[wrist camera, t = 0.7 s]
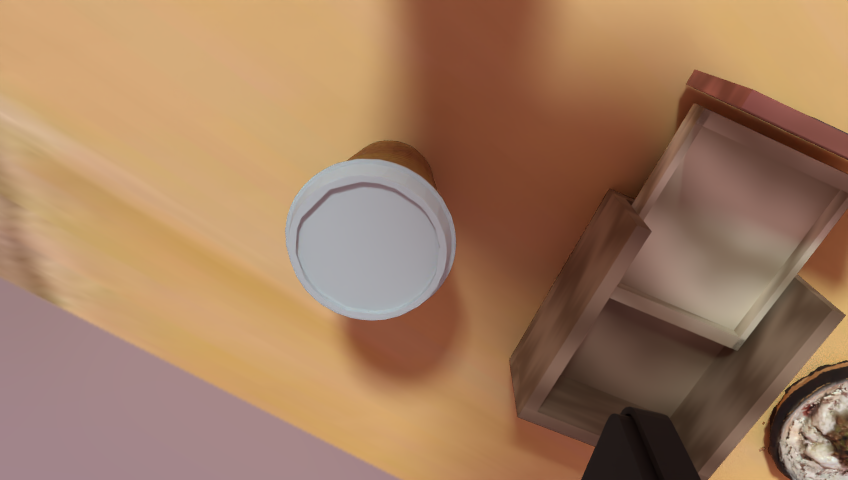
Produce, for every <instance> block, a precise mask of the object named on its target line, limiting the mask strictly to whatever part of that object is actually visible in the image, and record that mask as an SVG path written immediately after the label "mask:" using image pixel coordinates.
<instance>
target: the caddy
mask: <svg viewBox="0 0 848 480" xmlns="http://www.w3.org/2000/svg"><path fill="white" fill-rule="evenodd" d="M634 201H635V200H634V199H632V198H630V197H627V196H625V195H623V194H621V193H618V192H616V191H614V190H611V189H609V190H608V192H607V194H606V196H605V197H604V199H603V201H602V202H601V204H600V206H599V207H598V209H597V211H596V213H595V214H594V216H593V218H592V219H591V221H590V223H589V225H588V226H587V228H586V230H585V231H584V233H583V235H582V236H581V238H580V240H579V242H578V243H577V245H576V247H575V248H574V250H573V252H572V254H571V255H570V257H569V259H568V260H567V262H566V264H565V265H564V267H563V269H562V271H561V272H560V274H559V276H558V277H557V279H556V281H555V283H554V284H553V286H552V288H551V289H550V291H549V293H548V294H547V296H546V298H545V300H544V301H543V303H542V305H541V306H540V308H539V310H538V312H537V313H536V315H535V317H534V318H533V320H532V322H531V323H530V325H529V327H528V329H527V330H526V332H525V334H524V335H523V337H522V339H521V341H520V342H519V344H518V346H517V347H516V349H515V351H514V352H513V354H512V356H511V358H510V359H509V361H510V368H511V375H512V382H513V389H514V396H515V403H516V410H517V416H518V417H519V418H521V419H524V420H526V421H529V422H532V423H534V424H537V425H540V426H542V427H545V428H547V429H550V430H553V431H555V432H558V433H561V434H563V435H566V436H568V437H571V438H574V439H576V440H579V441H582V442H584V443H587V444H589V445H592V446H595V447H596V445H597V442H598V440H599V438H600V435H601V433H602V431H603V428H604V426H605V424H606V422H607V420H608V418H609V416H610V415H611V414H614V413H616V414H620V413H621V412H622V410H623V409H624V408H625V407H629V406H630V407H635V408H639V409H644V410H649V411H653V412H658V413H662V414H665V415H667V416H668V417H669V418H670V420H671V421H672V423H673V425H674V427H675V429H676V431H677V433H678V435H679V437H680V439H681V441H682V443H683V445H684V447H685V449H686V451H687V453H688V455H689V457H690V459H691V461H692V463H693V465H694V467H695V469H696V471H697V473H698V475H699V477H700V479H701V480H708V479H709V478H710V477H711V475H712V474H713V473H714V472H715V471H716V469H717V468H718V467H719V466H720V465H721V463H722V462H723V461H724V460H725V459H726V458H727V456H728V455H729V454H730V453H731V452H732V450H733V449H734V448H735V447H736V446H737V444H738V443H739V442H740V441H741V440H742V438H743V437H744V436H745V435H746V434H747V433H748V431H749V430H750V429H751V428H752V427H753V425H754V424H755V423H756V422H757V421H758V419H759V418H760V417H761V416H762V415H763V413H764V412H765V411H766V410H767V409H768V408H769V406H770V405H771V404H772V403H773V402H774V400H775V399H776V398H777V397H778V396H779V394H780V393H781V392H782V391H783V390H784V388H785V387H786V386H787V385H788V384H789V383H790V381H791V380H792V379H793V378H794V377H795V375H796V374H797V373H798V372H799V371H800V369H801V368H802V367H803V366H804V365H805V364H806V362H807V361H808V360H809V359H810V358H811V356H812V355H813V354H814V353H815V352H816V350H817V349H818V348H819V347H820V346H821V344H822V343H823V342H824V341H825V340H826V339H827V337H828V336H829V335H830V334H831V333H832V331H833V330H834V329H835V328H836V327H837V325H838V324H839V323H840V322H841V321H842V319H843V318H844V317H845V316H846V315H845V314H844V313H842V312H841V311H840V310H839V309H838V308H837V307H835V306H834V305H833V304H832V303H831V302H829V301H828V300H827V299H826V298H825V297H823V296H822V295H821V294H820V293H819V292H818V291H816V290H815V289H814V288H813V287H812V286H810V285H809V284H808V283H807V282H806V281H804V280H803V279H802V278H801V277H800V276H799V275H797V274H796V276H795V277H794V278H793V280H792V281H791V282H790V284H789V285H788V286H787V287H786V289H785V290H784V291H783V293H782V294H781V295H780V296H779V298H778V299H777V300H776V302H775V303H774V304H773V305H772V307H771V308H770V309H769V311H768V312H767V313H766V315H765V316H764V317H763V318H762V320H761V321H760V322H759V324H758V325H757V326H756V327H755V329H754V330H753V331H752V333H751V334H750V335H749V336H748V338H747V339H746V340H745V342H744V343H743V344H742V346H741V347H740V348H739V349H738V351H737V350H734V349H732V348H729V347H727V346H725V345H722V344H720V343H717V342H715V341H712V340H710V339H708V338H705V337H703V336H700V335H698V334H696V333H693V332H691V331H688V330H686V329H684V328H681V327H679V326H676V325H674V324H671V323H669V322H667V321H664V320H662V319H659V318H657V317H655V316H652V315H650V314H647V313H645V312H643V311H640V310H638V309H635V308H633V307H630V306H628V305H626V304H623V303H621V302H618V301H616V300H614V299H611V298H610V296H611V295H612V293H613V292H614V290H615V288H616V287H617V285H618V284H619V282H620V281H621V279H622V277H623V276H624V274H625V273H626V271H627V270H628V268H629V266H630V265H631V263H632V262H633V260H634V259H635V257H636V255H637V254H638V252H639V251H640V249H641V248H642V246H643V244H644V243H645V241H646V240H647V238H648V237H649V235H650V234H651V232H652V231H651V230H650V229H649V227H648V226H647V225H646V224H645V222H644V221H643V220H642V219H641V217H640V216H639V215H638V214H637V212H636V211H635V210H634V209H633V207H632V206H631V205H632V204H633V202H634Z"/></svg>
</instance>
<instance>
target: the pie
mask: <svg viewBox="0 0 848 480" xmlns="http://www.w3.org/2000/svg"><path fill="white" fill-rule="evenodd" d="M785 392H786V394H785V395H784V396H783V398H782V400H781V401H780V402H779V405H777V406H776V407H774V409H773V411H772V415H771V416H770V425H771V430H770V447H769V448H768V452H769V453H770V454H771V456H772V458H773V460H774V462H775V464H776V466H777V468H778V469H779V470H780V472H781V473H783V474H784V475H785V476H786V477H788V478H789V479H790V480H848V361H847V360H846V361H843V362H839V363H837V364H833V365H824V366H820V367H818V368H817V369H816V370H815V371H813V372H811V373H810V374H809V375H808V376H806V377H803V378H801V379H800V380H798V381H797V382H795V383H793V384H792V385H791V386H790V387H788V388H787V389H786V390H785ZM764 423H765V422H763V425H764ZM761 450H765V448H761V449H759V451H761Z"/></svg>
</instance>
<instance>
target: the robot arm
mask: <svg viewBox="0 0 848 480" xmlns="http://www.w3.org/2000/svg"><path fill="white" fill-rule="evenodd" d="M581 480H701V479H700V477H699V475H698V473H697V471H696V469H695V467H694V465H693V463H692V461H691V459H690V457H689V455H688V453H687V451H686V449H685V447H684V445H683V443H682V441H681V439H680V437H679V435H678V433H677V431H676V429H675V427H674V425H673V423H672V421H671V420H670V418H669V417H668V416H667V415H665V414H662V413H658V412H653V411H649V410H644V409H639V408H635V407H630V406H629V407H625V408H624V409H623V410H622V412H621V413H620V414H616V413H614V414H611V415H610V416H609V418H608V420H607V422H606V424H605V426H604V428H603V431H602V433H601V435H600V438H599V440H598V442H597V445H596V447H595V449H594V452H593V454H592V456H591V458H590V461H589V463H588V465H587V468H586V470H585V472H584V475H583V477H582V479H581Z"/></svg>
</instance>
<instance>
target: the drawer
mask: <svg viewBox="0 0 848 480" xmlns="http://www.w3.org/2000/svg"><path fill="white" fill-rule="evenodd" d="M686 84H687V85H689V86H691V87H693V88H695V89H697V90H699V91H702V92H704V93H706V94H708V95H710V96H712V97H714V98H716V99H719V100H721V101H723V102H725V103H727V104H729V105H731V106H734V107H736V108H738V109H740V110H742V111H744V112H746V113H748V114H751V115H753V116H755V117H757V118H759V119H761V120H763V121H766V122H768V123H770V124H772V125H774V126H776V127H778V128H781V129H783V130H785V131H787V132H789V133H791V134H793V135H795V136H798V137H800V138H802V139H804V140H806V141H808V142H810V143H813V144H815V145H817V146H819V147H821V148H823V149H825V150H827V151H830V152H832V153H834V154H836V155H838V156H840V157H842V158H845V159H847V160H848V134H847V133H845V132H843V131H841V130H839V129H837V128H835V127H833V126H830V125H828V124H826V123H824V122H822V121H820V120H818V119H816V118H813V117H810V116H808V115H805V114H803V113H801V112H799V111H797V110H795V109H793V108H791V107H788V106H786V105H784V104H782V103H780V102H778V101H776V100H774V99H772V98H769V97H767V96H765V95H763V94H761V93H759V92H757V91H755V90H753V89H750V88H747V87H744V86H741V85H738V84H735V83H732V82H729V81H727V80H724V79H721V78H718V77H715V76H712V75H709V74H706V73H703V72H701V71H698V70H694V72H693V73H692V75H691V77H690V78H689V80H688V82H687V83H686ZM631 206H632V207H633V209H634V210H635V211H636V212H637V214H638V215H639V216H640V217H641V219H642V220H643V221H644V222H645V224H646V225H647V226H648V227H649V229H650V230H651V231H652V232H651V234H650V235H649V237H648V238H647V240H646V241H645V243H644V244H643V246H642V248H641V249H640V251H639V252H638V254H637V255H636V257H635V259H634V260H633V262H632V263H631V265H630V266H629V268H628V270H627V271H626V273H625V274H624V276H623V277H622V279H621V281H620V282H619V284H618V285H617V287H616V288H615V290H614V292H613V293H612V295H611V296H610V298H611V299H614V300H616V301H618V302H621V303H623V304H626V305H628V306H630V307H633V308H635V309H638V310H640V311H643V312H645V313H647V314H650V315H652V316H655V317H657V318H659V319H662V320H664V321H667V322H669V323H671V324H674V325H676V326H679V327H681V328H684V329H686V330H688V331H691V332H693V333H696V334H698V335H700V336H703V337H705V338H708V339H710V340H712V341H715V342H717V343H720V344H722V345H725V346H727V347H729V348H732V349H734V350H737V351H738V349H739V348H740V347H741V346H742V344H743V343H744V342H745V340H746V339H747V338H748V336H749V335H750V334H751V333H752V331H753V330H754V329H755V327H756V326H757V325H758V324H759V322H760V321H761V320H762V318H763V317H764V316H765V315H766V313H767V312H768V311H769V309H770V308H771V307H772V305H773V304H774V303H775V302H776V300H777V299H778V298H779V296H780V295H781V294H782V293H783V291H784V290H785V289H786V287H787V286H788V285H789V284H790V282H791V281H792V280H793V278H794V277H795V276H796V274H797V273H798V272H799V271H800V269H801V268H802V267H803V265H804V264H805V263H806V262H807V260H808V259H809V258H810V256H811V255H812V254H813V253H814V251H815V250H816V249H817V247H818V246H819V245H820V243H821V242H822V241H823V240H824V238H825V237H826V236H827V234H828V233H829V232H830V231H831V229H832V228H833V227H834V225H835V224H836V223H837V221H838V220H839V219H840V218H841V216H842V215H843V214H844V212H845V211H846V210H847V209H848V174H846V173H844V172H842V171H840V170H837V169H835V168H833V167H831V166H829V165H827V164H825V163H822V162H820V161H818V160H816V159H814V158H812V157H809V156H807V155H805V154H803V153H801V152H799V151H797V150H794V149H792V148H790V147H788V146H786V145H784V144H782V143H779V142H777V141H775V140H773V139H771V138H769V137H767V136H764V135H762V134H760V133H758V132H756V131H754V130H751V129H749V128H747V127H745V126H743V125H741V124H739V123H736V122H734V121H732V120H730V119H728V118H726V117H724V116H721V115H719V114H717V113H715V112H713V111H711V110H708V109H706V108H704V107H702V106H700V105H698V104H696V103H694V104H693V105H692V107H691V109H690V110H689V112H688V114H687V115H686V117H685V119H684V120H683V122H682V124H681V125H680V127H679V128H678V130H677V132H676V133H675V135H674V137H673V138H672V140H671V142H670V143H669V145H668V146H667V148H666V150H665V151H664V153H663V155H662V156H661V158H660V160H659V161H658V163H657V165H656V166H655V168H654V169H653V171H652V173H651V174H650V176H649V178H648V179H647V181H646V183H645V184H644V186H643V187H642V189H641V191H640V192H639V194H638V196H637V197H636V199H635V201H634V202H633V204H632V205H631Z"/></svg>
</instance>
